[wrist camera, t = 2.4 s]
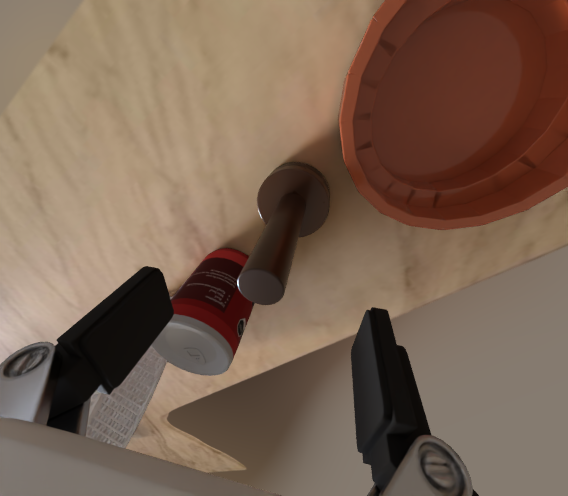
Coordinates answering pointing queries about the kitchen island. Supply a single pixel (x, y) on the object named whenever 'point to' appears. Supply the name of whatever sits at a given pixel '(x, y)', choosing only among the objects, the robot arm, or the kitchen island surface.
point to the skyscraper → (125, 402)
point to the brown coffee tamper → (283, 228)
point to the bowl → (458, 109)
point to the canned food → (207, 316)
